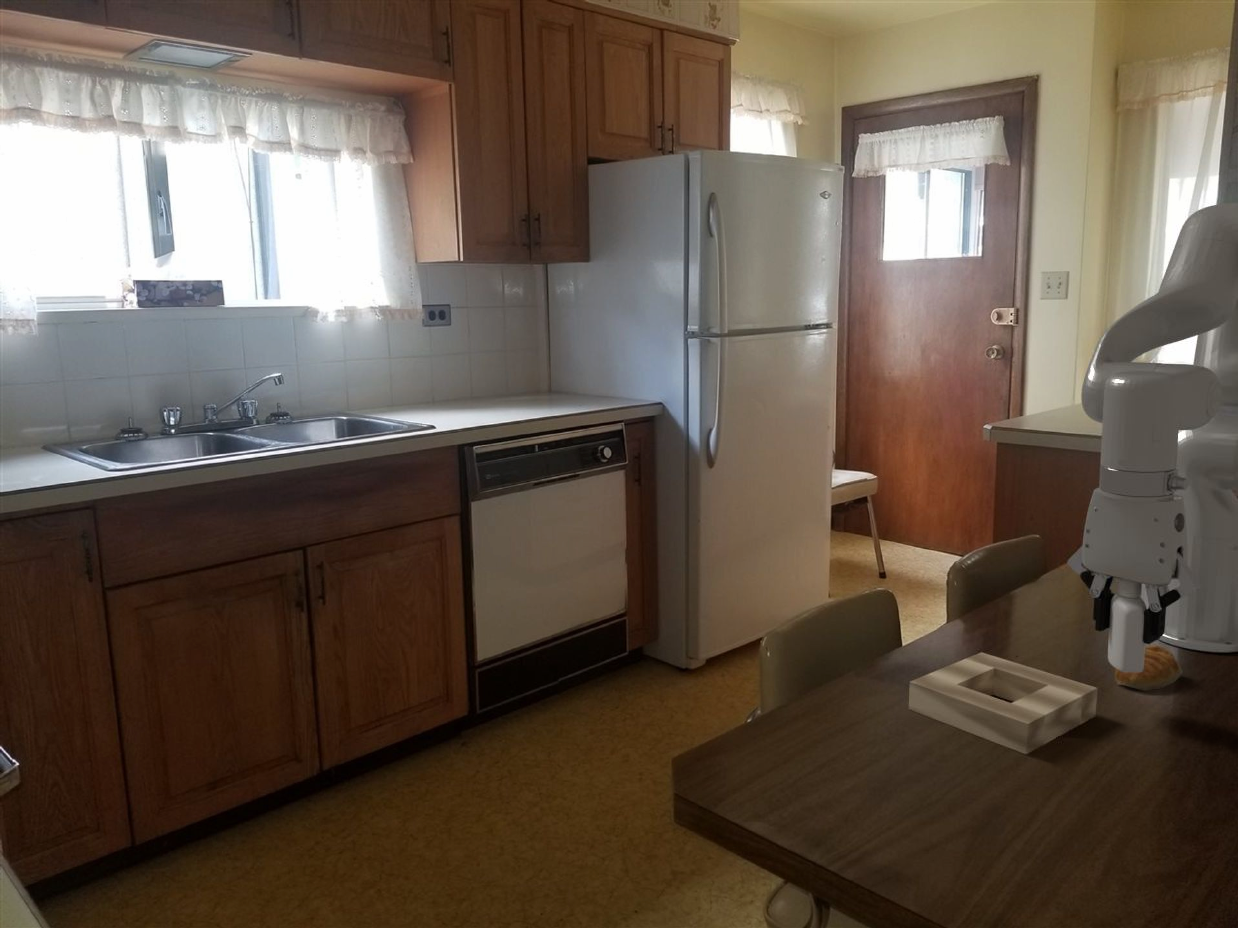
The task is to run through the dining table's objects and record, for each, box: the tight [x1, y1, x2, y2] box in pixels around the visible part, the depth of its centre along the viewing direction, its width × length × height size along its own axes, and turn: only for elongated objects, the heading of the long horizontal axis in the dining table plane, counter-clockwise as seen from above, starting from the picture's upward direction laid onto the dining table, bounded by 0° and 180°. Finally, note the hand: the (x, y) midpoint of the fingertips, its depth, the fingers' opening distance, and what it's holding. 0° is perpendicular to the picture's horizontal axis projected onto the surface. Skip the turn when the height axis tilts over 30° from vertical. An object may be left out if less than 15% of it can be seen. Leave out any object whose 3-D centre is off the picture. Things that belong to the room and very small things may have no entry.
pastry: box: [1114, 644, 1184, 692], centre depth 122 cm, size 9×7×4 cm
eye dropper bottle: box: [1107, 578, 1148, 673], centre depth 111 cm, size 4×6×12 cm
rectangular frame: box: [908, 652, 1098, 755], centre depth 113 cm, size 15×15×4 cm
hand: (1127, 632), depth 111 cm, fingers closed on eye dropper bottle, 4 cm apart
